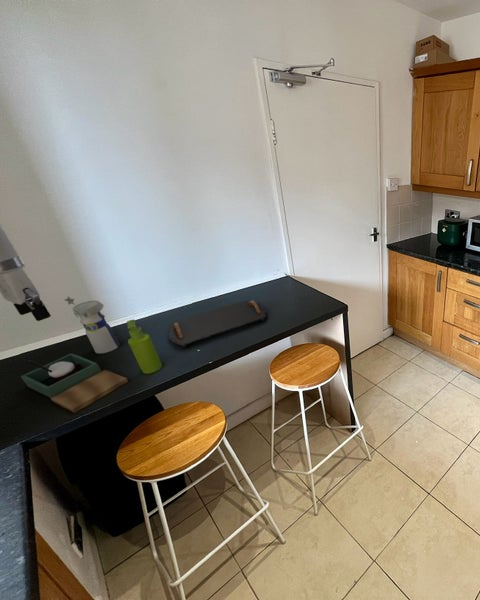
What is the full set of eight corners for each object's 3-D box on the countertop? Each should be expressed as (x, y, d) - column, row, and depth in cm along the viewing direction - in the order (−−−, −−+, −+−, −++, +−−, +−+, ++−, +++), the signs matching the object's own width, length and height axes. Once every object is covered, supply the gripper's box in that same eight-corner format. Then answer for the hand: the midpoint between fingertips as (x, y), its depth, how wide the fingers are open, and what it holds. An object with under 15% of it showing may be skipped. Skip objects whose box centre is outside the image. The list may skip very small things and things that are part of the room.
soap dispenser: (143, 377, 109) (119, 329, 100) (142, 367, 114) (119, 320, 105) (163, 370, 112) (142, 323, 103) (161, 361, 117) (140, 315, 108)
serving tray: (256, 302, 159) (253, 291, 156) (273, 320, 143) (271, 308, 141) (165, 330, 136) (160, 317, 134) (174, 354, 121) (169, 341, 118)
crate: (53, 399, 100) (46, 388, 98) (27, 386, 105) (20, 376, 103) (102, 373, 111) (97, 363, 109) (77, 362, 116) (71, 353, 114)
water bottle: (118, 350, 123) (89, 293, 112) (90, 356, 120) (58, 298, 109) (124, 339, 130) (97, 285, 118) (98, 345, 127) (68, 289, 115)
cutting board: (74, 413, 95) (72, 409, 94) (52, 402, 99) (50, 398, 98) (128, 381, 107) (126, 378, 107) (107, 372, 111) (105, 369, 111)
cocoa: (84, 369, 113) (68, 342, 108) (85, 377, 109) (68, 349, 104) (47, 381, 107) (28, 353, 102) (46, 391, 103) (26, 362, 98)
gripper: (-30, 265, 90) (5, 316, 98) (-1, 273, 84) (34, 327, 92) (7, 256, 96) (37, 305, 104) (36, 264, 90) (66, 315, 98)
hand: (35, 315), depth 98 cm, fingers open, 9 cm apart
